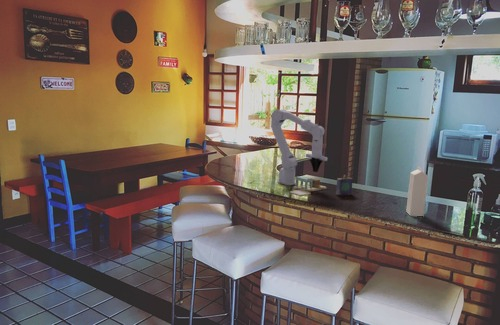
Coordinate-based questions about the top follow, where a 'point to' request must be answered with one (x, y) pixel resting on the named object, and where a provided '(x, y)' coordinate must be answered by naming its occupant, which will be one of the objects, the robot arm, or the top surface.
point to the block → (316, 183)
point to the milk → (417, 193)
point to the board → (309, 188)
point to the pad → (300, 192)
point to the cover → (304, 181)
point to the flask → (344, 186)
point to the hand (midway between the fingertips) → (315, 171)
